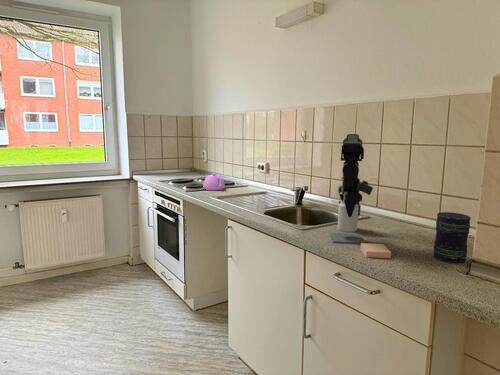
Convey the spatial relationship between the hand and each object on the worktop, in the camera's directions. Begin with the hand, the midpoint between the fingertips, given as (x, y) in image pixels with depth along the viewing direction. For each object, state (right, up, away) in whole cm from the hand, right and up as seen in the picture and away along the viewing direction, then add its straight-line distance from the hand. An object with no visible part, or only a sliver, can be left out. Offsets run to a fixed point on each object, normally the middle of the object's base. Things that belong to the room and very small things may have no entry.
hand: (348, 214), depth 139 cm
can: (0, -7, +1) cm, 7 cm away
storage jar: (+29, -14, -19) cm, 37 cm away
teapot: (-65, +9, +117) cm, 134 cm away
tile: (+6, -11, -11) cm, 16 cm away
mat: (0, -10, +1) cm, 10 cm away
